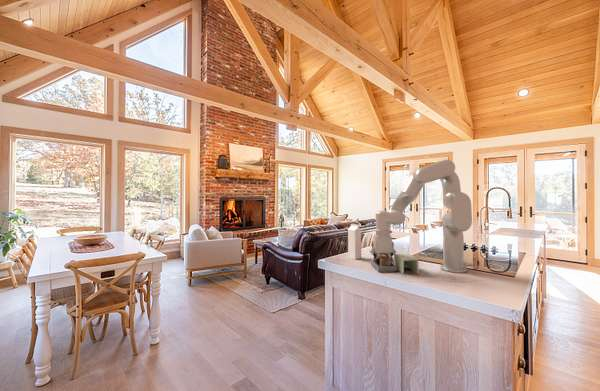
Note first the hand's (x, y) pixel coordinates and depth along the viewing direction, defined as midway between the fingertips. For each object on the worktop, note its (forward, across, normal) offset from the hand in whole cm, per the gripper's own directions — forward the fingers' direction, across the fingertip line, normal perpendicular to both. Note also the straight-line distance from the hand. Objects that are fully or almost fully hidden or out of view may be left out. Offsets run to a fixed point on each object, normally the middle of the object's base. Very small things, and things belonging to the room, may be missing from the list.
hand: (383, 264), depth 147 cm
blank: (+1, 0, 0) cm, 1 cm away
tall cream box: (+2, -11, +5) cm, 12 cm away
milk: (+2, +11, -23) cm, 26 cm away
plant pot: (+2, -5, -16) cm, 17 cm away
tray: (+2, 0, 0) cm, 2 cm away
